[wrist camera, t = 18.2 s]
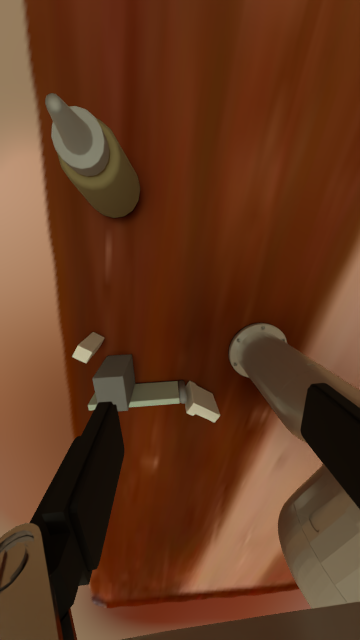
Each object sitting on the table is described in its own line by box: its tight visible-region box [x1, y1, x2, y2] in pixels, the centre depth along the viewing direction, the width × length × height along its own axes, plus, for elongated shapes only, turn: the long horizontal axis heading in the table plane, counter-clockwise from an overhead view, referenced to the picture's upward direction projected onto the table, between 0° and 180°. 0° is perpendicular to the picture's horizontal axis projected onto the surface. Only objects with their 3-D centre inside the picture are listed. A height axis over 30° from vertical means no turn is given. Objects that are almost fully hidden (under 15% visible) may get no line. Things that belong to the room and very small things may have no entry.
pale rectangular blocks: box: [72, 332, 220, 423], centre depth 36 cm, size 30×3×7 cm, turn 58°
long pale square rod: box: [88, 380, 187, 410], centre depth 38 cm, size 19×2×6 cm, turn 92°
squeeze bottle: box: [45, 93, 140, 218], centre depth 22 cm, size 8×8×18 cm
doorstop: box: [92, 354, 135, 411], centre depth 35 cm, size 5×7×8 cm
